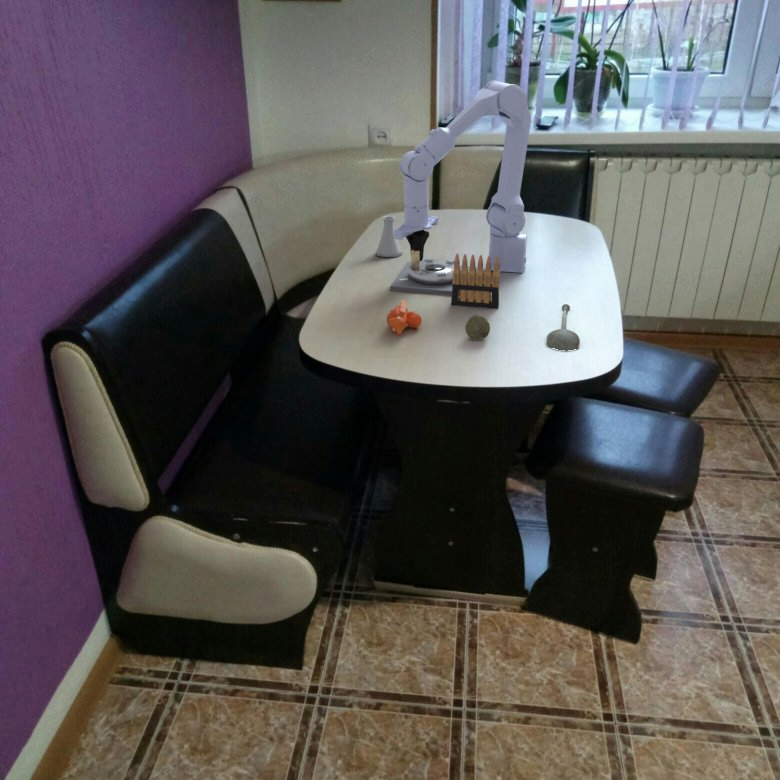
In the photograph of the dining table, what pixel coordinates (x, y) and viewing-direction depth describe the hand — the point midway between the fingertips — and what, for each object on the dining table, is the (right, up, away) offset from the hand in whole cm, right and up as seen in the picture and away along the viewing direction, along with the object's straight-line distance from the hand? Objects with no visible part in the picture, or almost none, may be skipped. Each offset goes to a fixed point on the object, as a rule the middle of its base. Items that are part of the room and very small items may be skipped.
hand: (416, 260), depth 177 cm
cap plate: (+4, -4, +2) cm, 7 cm away
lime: (+11, -21, -28) cm, 37 cm away
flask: (-7, +5, +20) cm, 22 cm away
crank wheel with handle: (+4, -3, +1) cm, 6 cm away
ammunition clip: (+13, -13, -13) cm, 22 cm away
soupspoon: (+30, -19, -24) cm, 43 cm away
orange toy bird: (-3, -19, -22) cm, 29 cm away
